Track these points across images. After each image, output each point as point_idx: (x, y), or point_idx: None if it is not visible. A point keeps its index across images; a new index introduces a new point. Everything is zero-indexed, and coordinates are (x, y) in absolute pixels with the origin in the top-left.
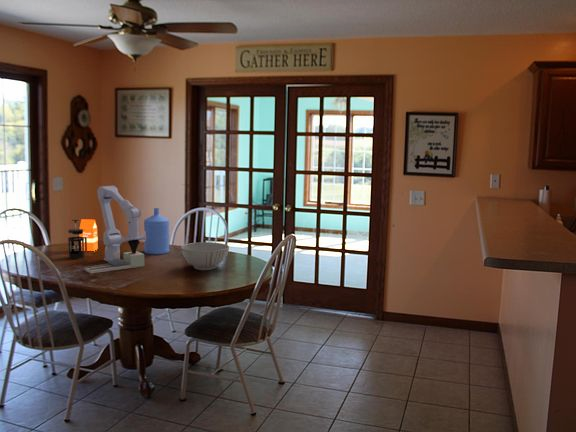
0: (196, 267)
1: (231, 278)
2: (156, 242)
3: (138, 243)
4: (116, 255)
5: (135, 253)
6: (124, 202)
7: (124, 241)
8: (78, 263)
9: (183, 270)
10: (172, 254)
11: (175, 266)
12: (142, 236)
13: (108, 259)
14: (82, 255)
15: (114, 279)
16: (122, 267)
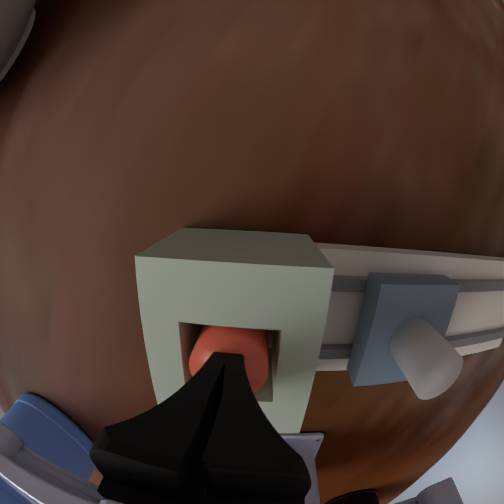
0: (29, 19)
1: None
2: (32, 443)
3: (131, 423)
4: (446, 341)
5: (223, 337)
6: None
7: (399, 502)
8: (414, 450)
9: (76, 10)
10: (11, 363)
11: (42, 110)
12: (21, 490)
13: (313, 455)
14: (347, 502)
15: (486, 61)
16: (381, 249)
